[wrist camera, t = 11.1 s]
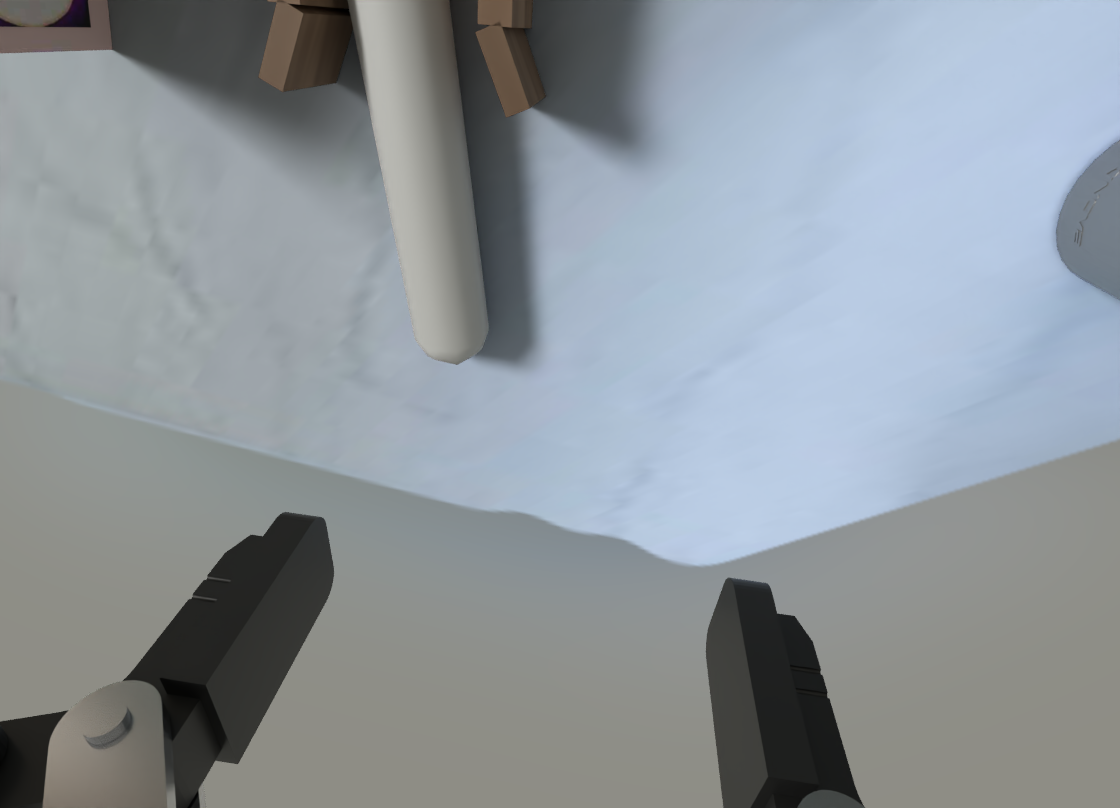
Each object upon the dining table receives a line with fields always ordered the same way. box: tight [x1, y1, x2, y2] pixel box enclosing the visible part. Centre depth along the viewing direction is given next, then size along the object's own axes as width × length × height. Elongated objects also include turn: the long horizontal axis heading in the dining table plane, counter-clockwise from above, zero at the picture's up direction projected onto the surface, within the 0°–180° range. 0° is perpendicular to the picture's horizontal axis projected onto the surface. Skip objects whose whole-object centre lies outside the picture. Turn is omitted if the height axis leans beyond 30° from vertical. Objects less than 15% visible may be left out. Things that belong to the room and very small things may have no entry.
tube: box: [348, 0, 489, 365], centre depth 33 cm, size 5×5×25 cm
